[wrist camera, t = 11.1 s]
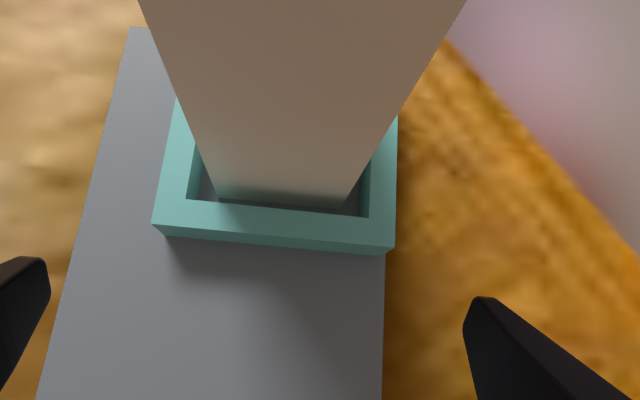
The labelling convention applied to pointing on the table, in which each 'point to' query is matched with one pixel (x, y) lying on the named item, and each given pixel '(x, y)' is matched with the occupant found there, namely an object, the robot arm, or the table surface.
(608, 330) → the table surface
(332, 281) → the baseplate
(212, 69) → the column
